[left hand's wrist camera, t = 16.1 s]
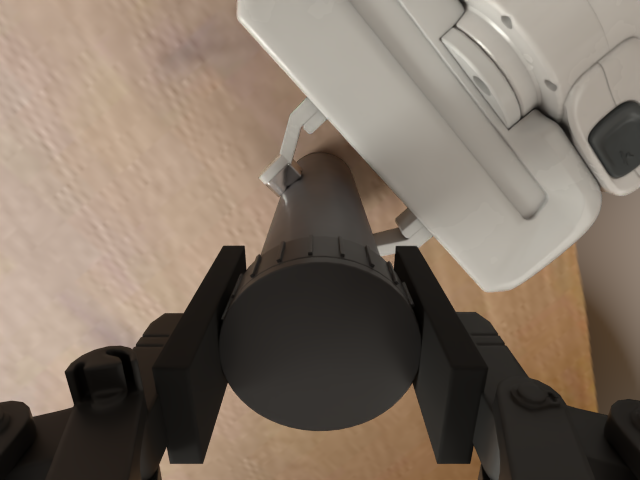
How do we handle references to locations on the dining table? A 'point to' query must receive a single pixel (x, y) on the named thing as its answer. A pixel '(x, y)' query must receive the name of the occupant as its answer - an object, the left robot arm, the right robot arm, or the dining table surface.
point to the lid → (320, 335)
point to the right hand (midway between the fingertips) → (309, 224)
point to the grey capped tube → (321, 205)
